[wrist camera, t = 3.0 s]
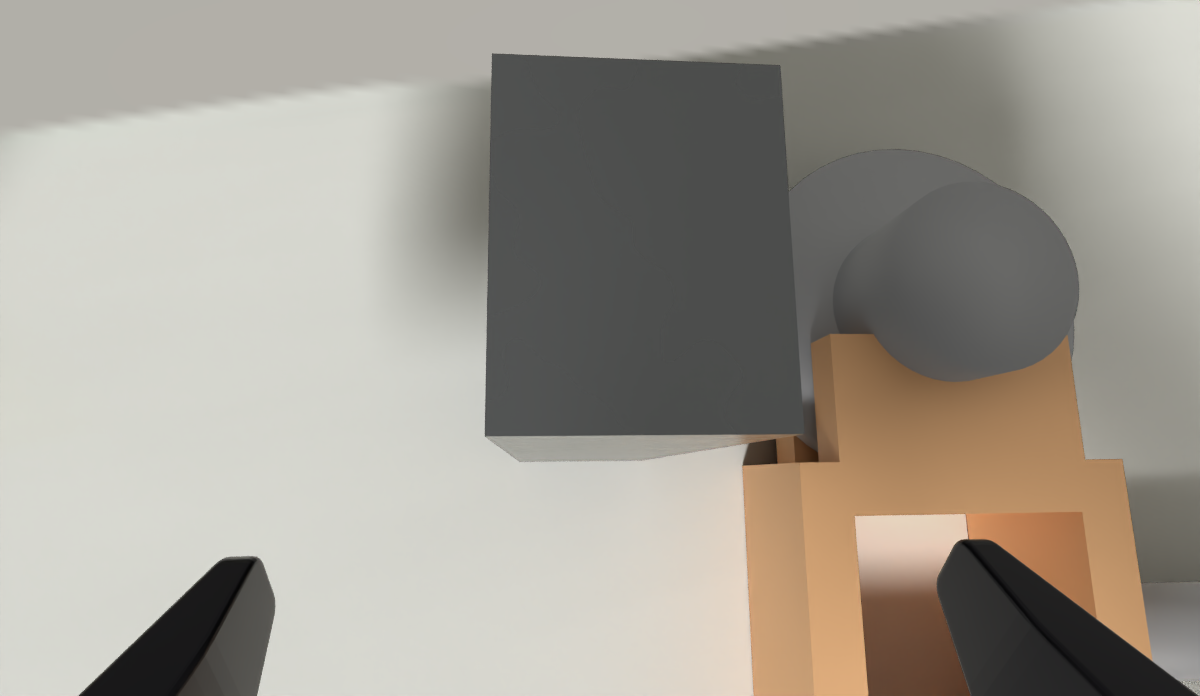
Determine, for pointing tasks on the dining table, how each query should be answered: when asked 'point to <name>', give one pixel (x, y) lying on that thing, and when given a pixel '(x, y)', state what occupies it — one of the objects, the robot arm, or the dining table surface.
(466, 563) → the dining table surface
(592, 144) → the dark grey long block
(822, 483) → the bracket head
